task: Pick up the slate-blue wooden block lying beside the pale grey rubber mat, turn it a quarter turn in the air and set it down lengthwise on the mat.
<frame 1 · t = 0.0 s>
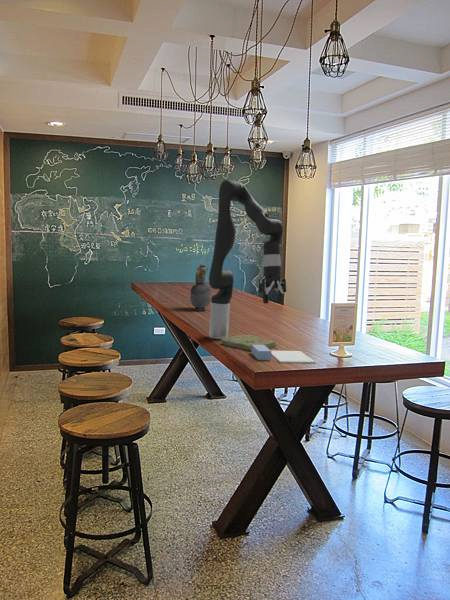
hand: (273, 302, 228), 22 cm above the table, tool pointing down, fingers open, 8 cm apart
block: (260, 357, 225), on the table
decorative tile: (249, 346, 245), on the table
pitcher: (198, 309, 345), on the table
mat: (290, 357, 226), on the table
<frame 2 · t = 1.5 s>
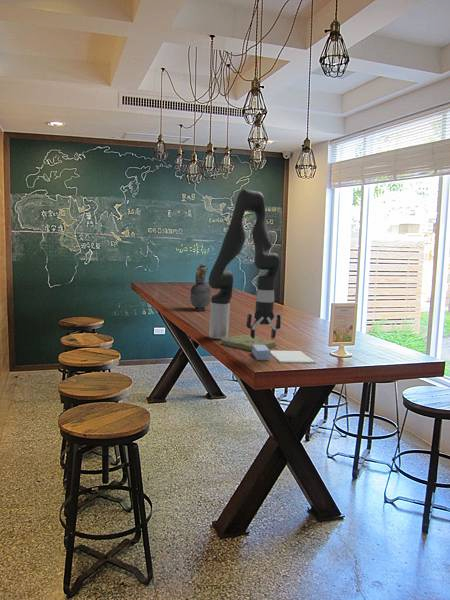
hand: (262, 338, 224), 8 cm above the table, tool pointing down, fingers open, 8 cm apart
nothing on the table moved.
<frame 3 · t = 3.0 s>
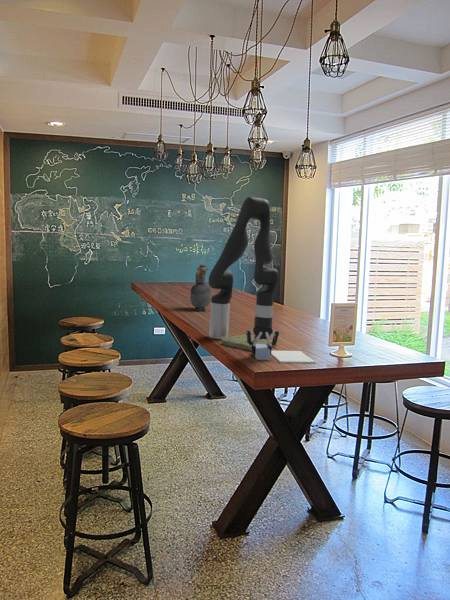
hand: (261, 354, 225), 1 cm above the table, tool pointing down, fingers closed on block, 5 cm apart
block: (261, 356, 225), on the table, touching gripper
everything else where it was.
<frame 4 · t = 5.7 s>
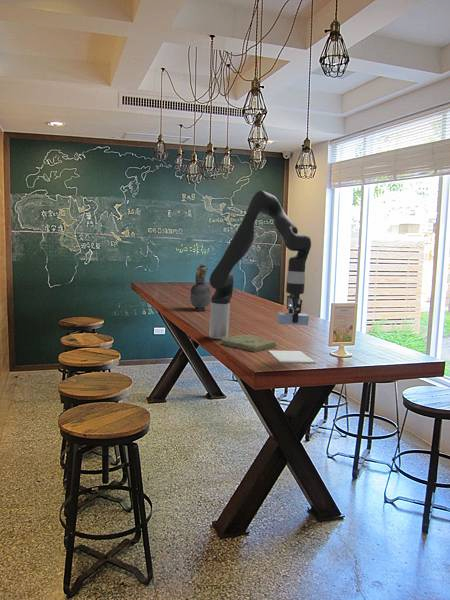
hand: (292, 321, 224), 16 cm above the table, tool pointing down, fingers closed on block, 5 cm apart
block: (292, 323, 224), point 15 cm above the table, touching gripper
everything else where it was.
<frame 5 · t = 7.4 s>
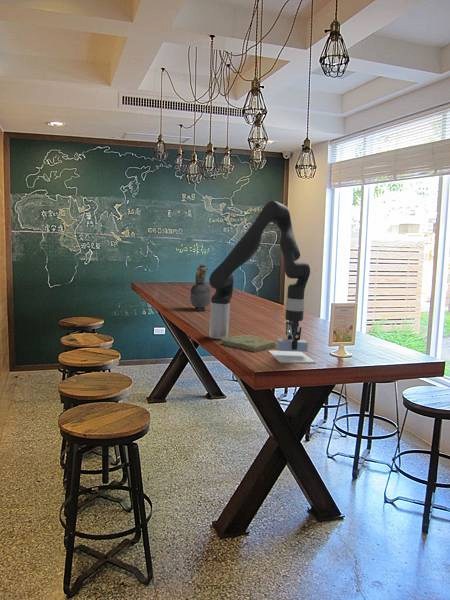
hand: (291, 347, 226), 4 cm above the table, tool pointing down, fingers closed on block, 5 cm apart
block: (291, 349, 226), point 3 cm above the table, touching gripper
everything else where it was.
when the fingers open (3 cm above the table, at t = 8.6 s): block drops 1 cm, resting on mat.
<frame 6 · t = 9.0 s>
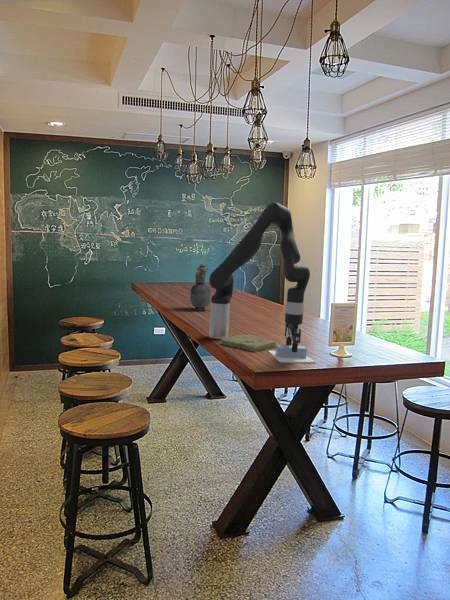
hand: (291, 349, 226), 3 cm above the table, tool pointing down, fingers open, 8 cm apart
block: (290, 355, 226), point 1 cm above the table, touching mat
everything else where it was.
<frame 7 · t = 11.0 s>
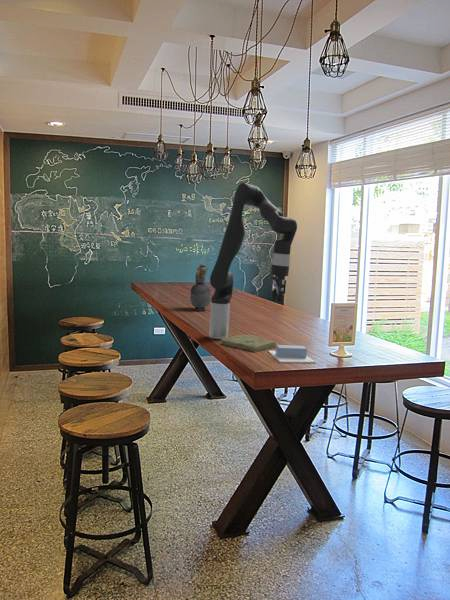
hand: (276, 301, 227), 23 cm above the table, tool pointing down, fingers open, 8 cm apart
nothing on the table moved.
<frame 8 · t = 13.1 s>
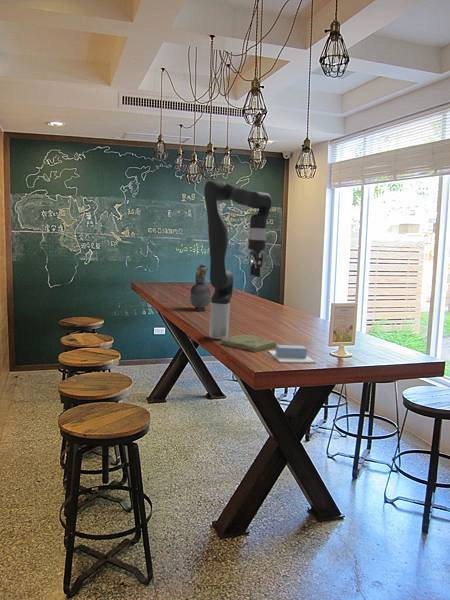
hand: (254, 276, 232), 33 cm above the table, tool pointing down, fingers open, 8 cm apart
nothing on the table moved.
at the end: block inside the target area on the mat (0.0 cm from its centre), point 0.6 cm above the mat's base; block tilted 0°; the gripper is holding nothing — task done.
